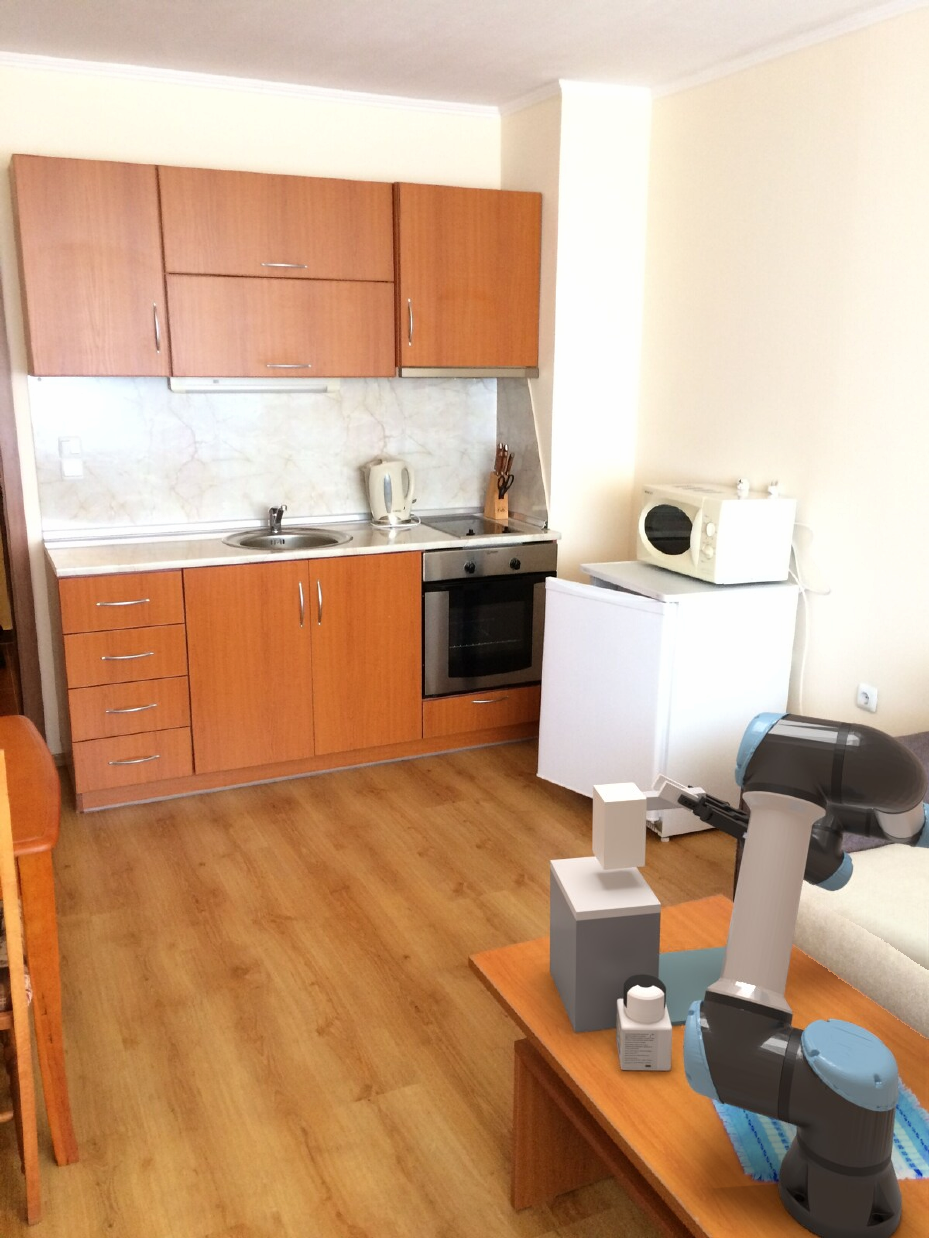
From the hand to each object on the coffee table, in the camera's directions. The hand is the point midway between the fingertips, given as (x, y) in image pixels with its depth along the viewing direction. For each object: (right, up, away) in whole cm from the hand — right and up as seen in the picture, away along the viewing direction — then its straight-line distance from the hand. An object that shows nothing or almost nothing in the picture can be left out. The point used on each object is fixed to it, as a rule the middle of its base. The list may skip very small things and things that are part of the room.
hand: (658, 784), depth 172 cm
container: (-4, -42, -7) cm, 43 cm away
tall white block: (-1, -12, +3) cm, 13 cm away
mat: (+10, -37, +11) cm, 40 cm away
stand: (-9, -38, +8) cm, 40 cm away
